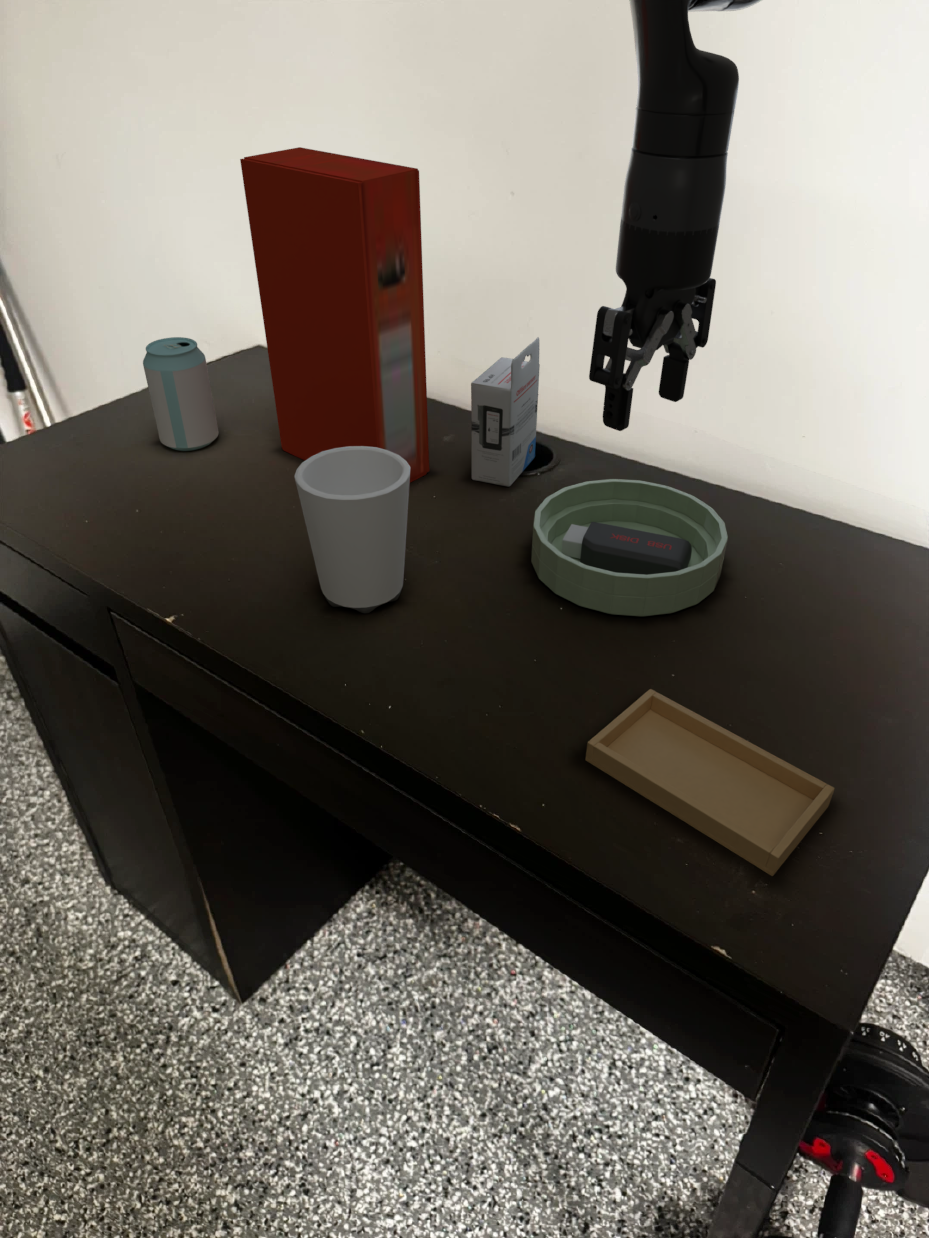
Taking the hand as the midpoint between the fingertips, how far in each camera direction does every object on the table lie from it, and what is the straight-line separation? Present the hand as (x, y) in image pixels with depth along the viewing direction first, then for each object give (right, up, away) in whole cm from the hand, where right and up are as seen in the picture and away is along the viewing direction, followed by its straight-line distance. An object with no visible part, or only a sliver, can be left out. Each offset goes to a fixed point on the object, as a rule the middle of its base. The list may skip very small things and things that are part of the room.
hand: (643, 412), depth 78 cm
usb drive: (0, -13, +9) cm, 16 cm away
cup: (-25, -16, +6) cm, 30 cm away
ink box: (-11, -1, +26) cm, 28 cm away
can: (-50, +4, +32) cm, 59 cm away
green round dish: (0, -13, +9) cm, 16 cm away
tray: (+2, -30, -14) cm, 33 cm away
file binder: (-29, 0, +27) cm, 40 cm away
